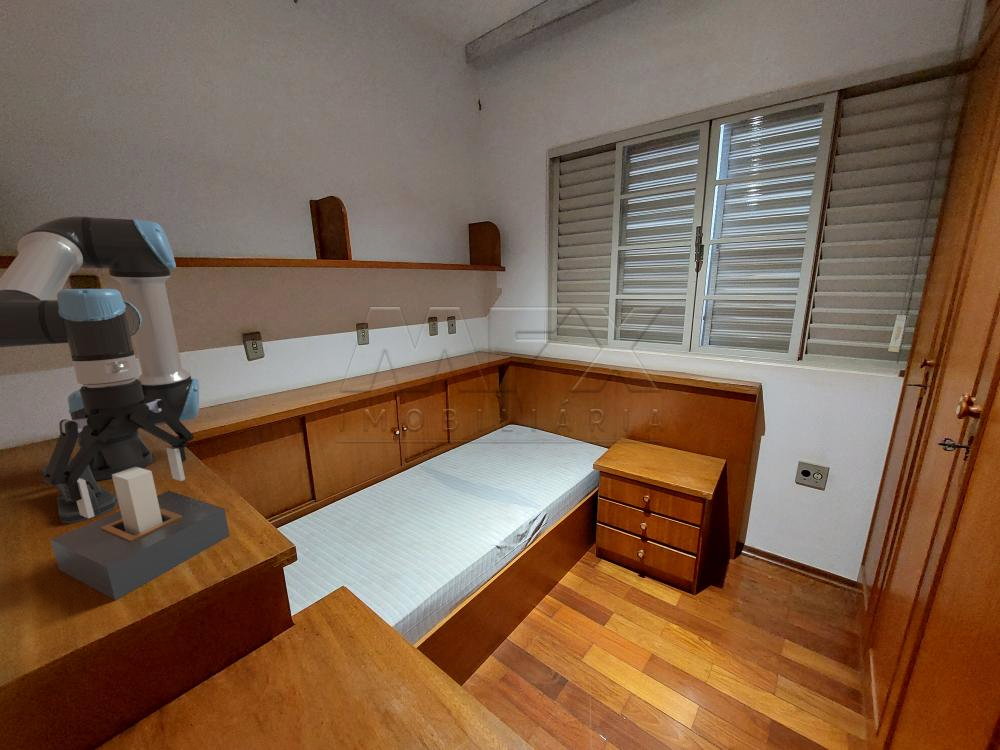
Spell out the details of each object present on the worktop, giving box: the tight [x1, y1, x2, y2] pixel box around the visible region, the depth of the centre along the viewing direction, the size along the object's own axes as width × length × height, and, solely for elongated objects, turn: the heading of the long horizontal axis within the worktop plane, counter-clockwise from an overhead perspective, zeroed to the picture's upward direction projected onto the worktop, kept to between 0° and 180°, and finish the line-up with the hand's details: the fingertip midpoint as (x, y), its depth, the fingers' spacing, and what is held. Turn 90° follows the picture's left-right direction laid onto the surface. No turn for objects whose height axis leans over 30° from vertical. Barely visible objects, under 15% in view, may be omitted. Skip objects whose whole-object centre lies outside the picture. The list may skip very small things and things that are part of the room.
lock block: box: [50, 490, 230, 601], centre depth 74 cm, size 18×18×6 cm
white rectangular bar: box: [111, 467, 163, 536], centre depth 73 cm, size 5×4×16 cm
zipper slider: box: [39, 459, 119, 525], centre depth 92 cm, size 9×7×25 cm
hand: (137, 495), depth 72 cm, fingers open, 13 cm apart
